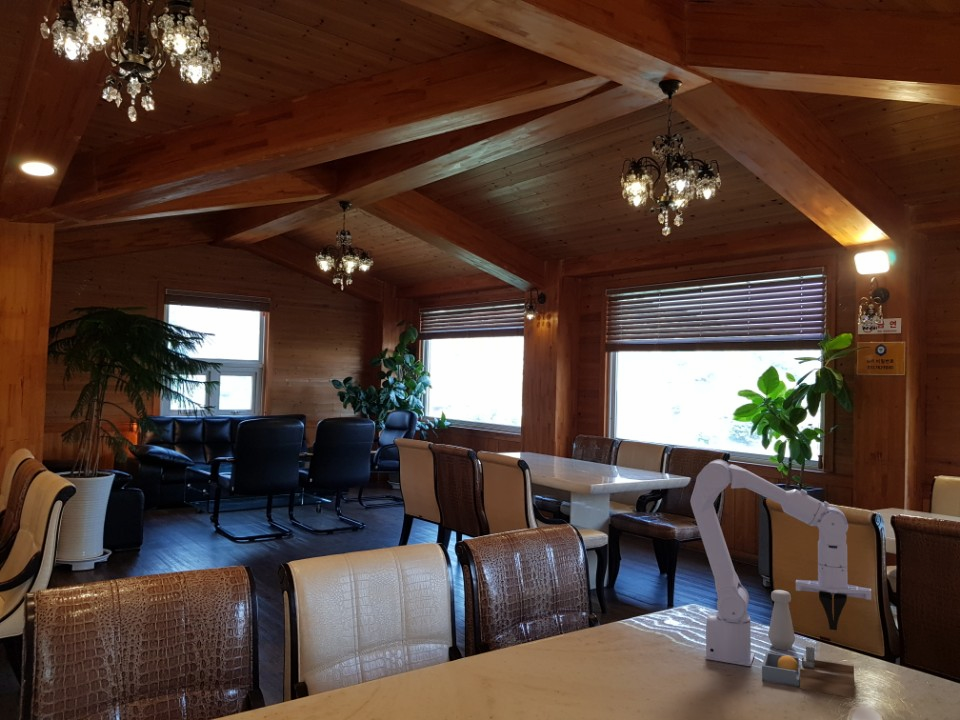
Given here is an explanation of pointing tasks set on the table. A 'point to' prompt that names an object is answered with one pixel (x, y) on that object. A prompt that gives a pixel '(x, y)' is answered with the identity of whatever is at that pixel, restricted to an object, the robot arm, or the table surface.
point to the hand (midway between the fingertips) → (833, 628)
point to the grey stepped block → (809, 656)
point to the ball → (788, 663)
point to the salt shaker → (781, 621)
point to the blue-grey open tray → (779, 671)
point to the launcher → (829, 678)
